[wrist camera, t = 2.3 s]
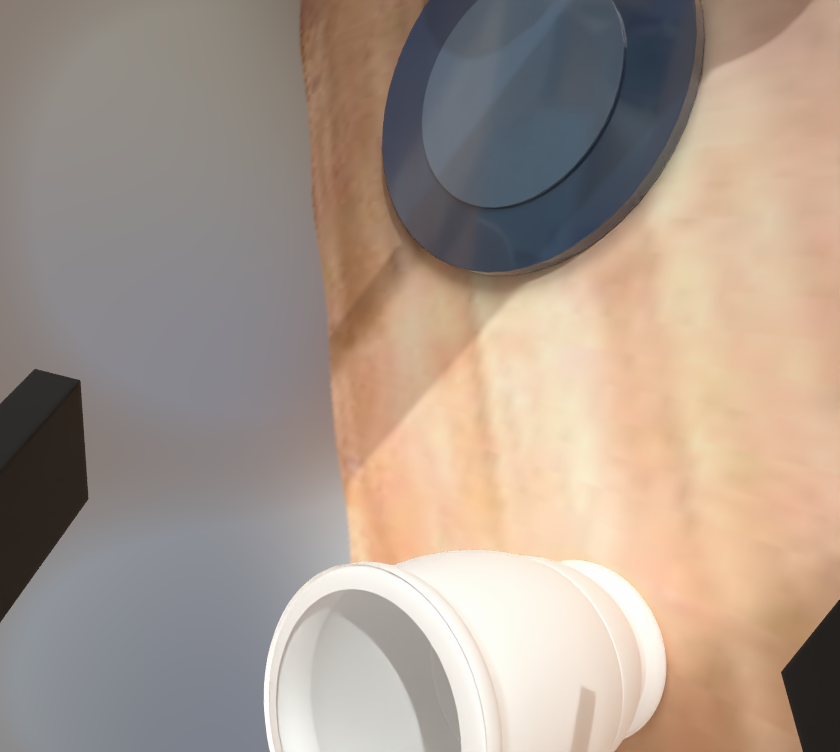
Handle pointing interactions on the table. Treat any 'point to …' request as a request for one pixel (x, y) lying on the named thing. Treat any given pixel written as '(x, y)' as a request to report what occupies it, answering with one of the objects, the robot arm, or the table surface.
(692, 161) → the table surface
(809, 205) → the table surface
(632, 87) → the plate
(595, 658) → the jar
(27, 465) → the robot arm
